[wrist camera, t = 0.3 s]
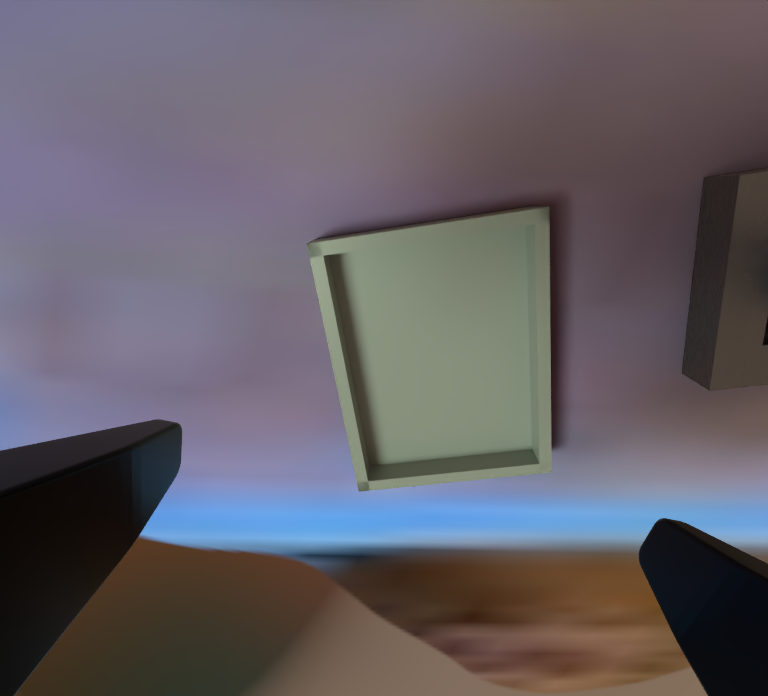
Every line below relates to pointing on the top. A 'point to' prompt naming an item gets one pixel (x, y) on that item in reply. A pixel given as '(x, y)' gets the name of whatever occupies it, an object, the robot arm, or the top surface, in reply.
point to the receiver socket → (730, 284)
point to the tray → (441, 346)
